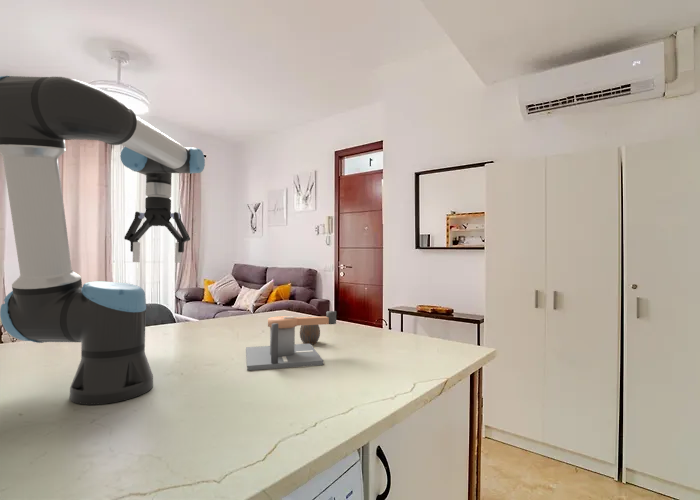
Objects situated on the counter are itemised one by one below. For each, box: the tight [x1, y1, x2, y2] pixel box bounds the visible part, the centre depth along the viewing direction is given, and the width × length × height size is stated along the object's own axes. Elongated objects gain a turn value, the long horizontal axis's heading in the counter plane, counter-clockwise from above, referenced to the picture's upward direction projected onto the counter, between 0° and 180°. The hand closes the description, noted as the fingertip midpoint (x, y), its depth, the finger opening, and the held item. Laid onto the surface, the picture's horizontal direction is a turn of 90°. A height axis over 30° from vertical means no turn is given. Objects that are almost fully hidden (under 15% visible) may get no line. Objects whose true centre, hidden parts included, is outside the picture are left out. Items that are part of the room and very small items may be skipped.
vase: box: [299, 325, 321, 345], centre depth 128 cm, size 7×7×9 cm
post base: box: [245, 323, 324, 371], centre depth 109 cm, size 20×20×12 cm
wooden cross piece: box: [267, 310, 337, 328], centre depth 111 cm, size 20×8×4 cm, turn 106°
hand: (157, 262), depth 123 cm, fingers open, 13 cm apart
